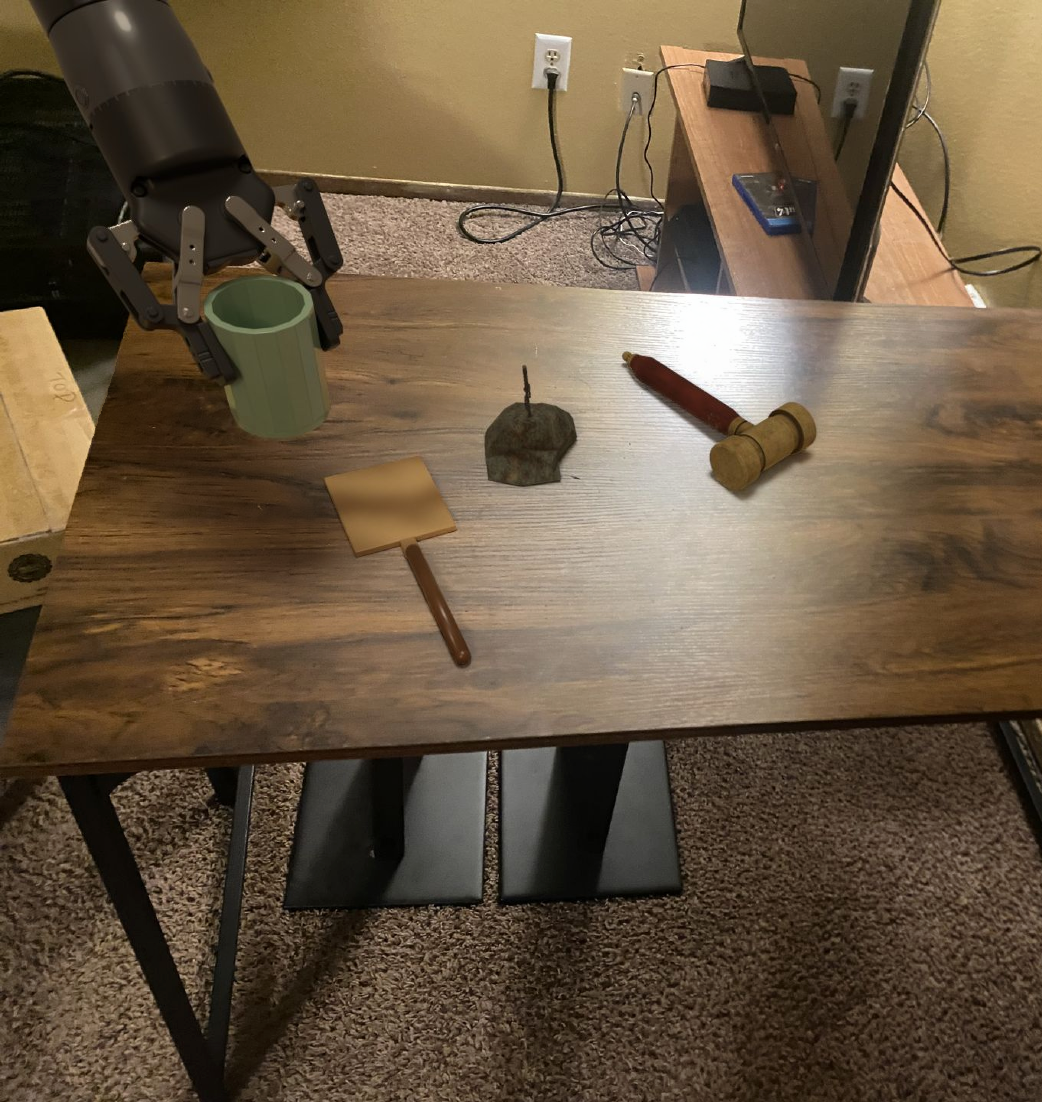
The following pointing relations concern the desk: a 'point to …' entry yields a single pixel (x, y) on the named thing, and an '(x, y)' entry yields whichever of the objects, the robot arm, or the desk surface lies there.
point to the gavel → (731, 425)
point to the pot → (270, 355)
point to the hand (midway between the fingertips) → (281, 364)
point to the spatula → (398, 525)
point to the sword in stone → (528, 441)
